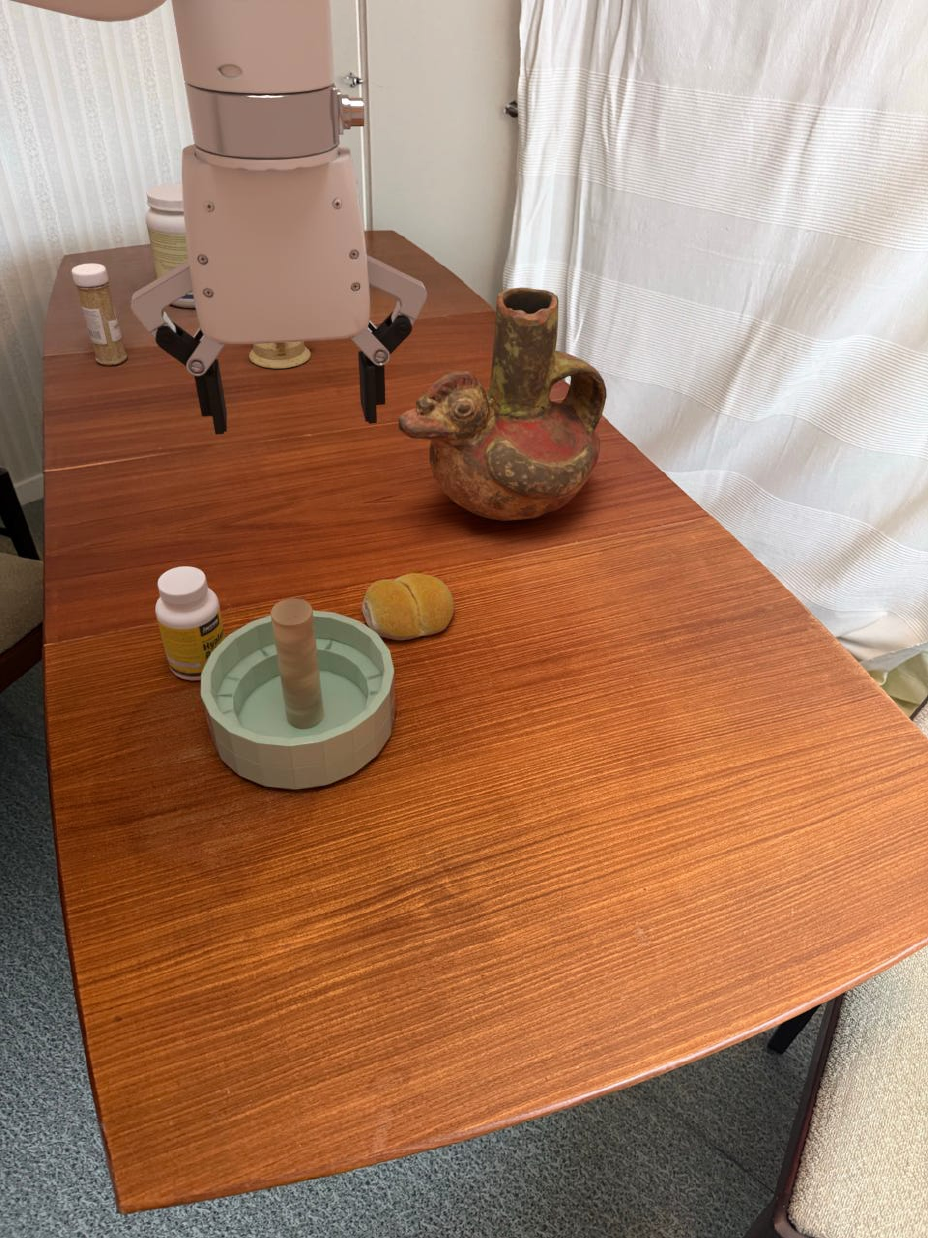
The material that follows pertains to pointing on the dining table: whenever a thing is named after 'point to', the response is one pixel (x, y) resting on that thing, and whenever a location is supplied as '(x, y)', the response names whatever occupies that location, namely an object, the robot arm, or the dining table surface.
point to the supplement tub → (168, 232)
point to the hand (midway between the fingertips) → (296, 419)
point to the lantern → (279, 354)
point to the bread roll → (408, 606)
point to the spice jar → (99, 313)
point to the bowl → (255, 711)
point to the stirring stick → (298, 662)
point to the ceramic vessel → (514, 419)
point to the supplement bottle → (188, 620)
